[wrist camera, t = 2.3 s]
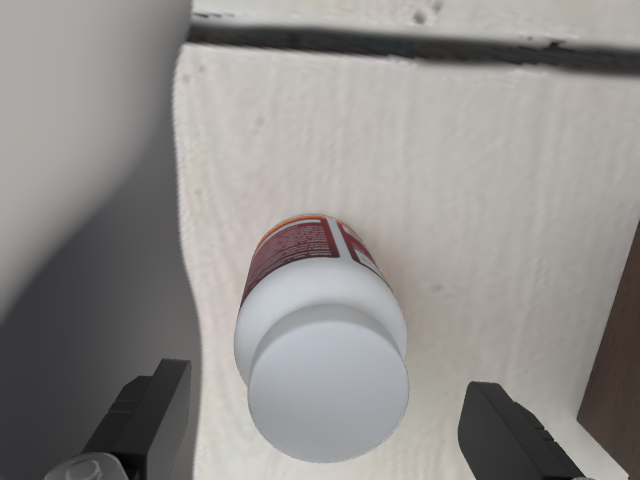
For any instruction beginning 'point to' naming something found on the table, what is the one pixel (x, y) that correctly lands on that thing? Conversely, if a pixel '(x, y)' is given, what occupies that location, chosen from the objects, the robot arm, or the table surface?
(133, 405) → the robot arm
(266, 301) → the pill bottle
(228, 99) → the table surface
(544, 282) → the table surface
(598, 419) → the shelf
